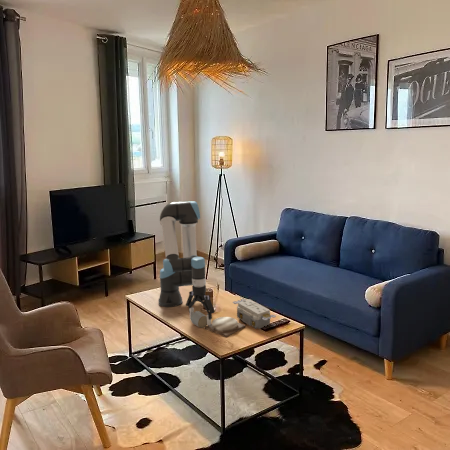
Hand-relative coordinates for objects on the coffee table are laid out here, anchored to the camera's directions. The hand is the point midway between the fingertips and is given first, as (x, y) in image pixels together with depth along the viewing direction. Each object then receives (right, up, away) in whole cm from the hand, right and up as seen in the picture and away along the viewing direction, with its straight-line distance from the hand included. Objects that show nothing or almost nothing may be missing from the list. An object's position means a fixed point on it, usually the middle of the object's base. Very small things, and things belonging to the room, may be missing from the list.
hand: (200, 321), depth 252 cm
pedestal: (+14, -3, -3) cm, 14 cm away
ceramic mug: (+1, -3, +1) cm, 3 cm away
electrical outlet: (+30, -1, +3) cm, 30 cm away
